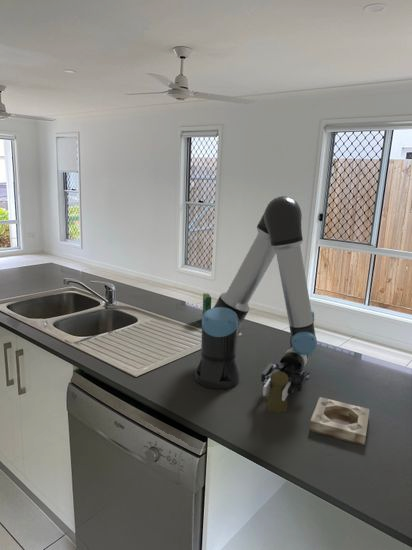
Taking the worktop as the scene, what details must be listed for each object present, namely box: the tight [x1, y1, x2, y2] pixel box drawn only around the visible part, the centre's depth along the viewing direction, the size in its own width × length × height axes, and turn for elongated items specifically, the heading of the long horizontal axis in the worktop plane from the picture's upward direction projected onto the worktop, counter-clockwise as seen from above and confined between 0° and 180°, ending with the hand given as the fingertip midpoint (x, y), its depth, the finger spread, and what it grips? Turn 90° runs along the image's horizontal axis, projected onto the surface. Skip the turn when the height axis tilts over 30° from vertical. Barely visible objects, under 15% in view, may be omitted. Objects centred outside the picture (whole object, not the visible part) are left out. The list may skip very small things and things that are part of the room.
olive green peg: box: [266, 371, 289, 414], centre depth 118 cm, size 6×6×11 cm
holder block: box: [309, 396, 370, 447], centre depth 111 cm, size 14×14×3 cm
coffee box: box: [202, 292, 212, 315], centre depth 190 cm, size 8×3×13 cm, turn 10°
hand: (273, 393), depth 113 cm, fingers closed on olive green peg, 5 cm apart
